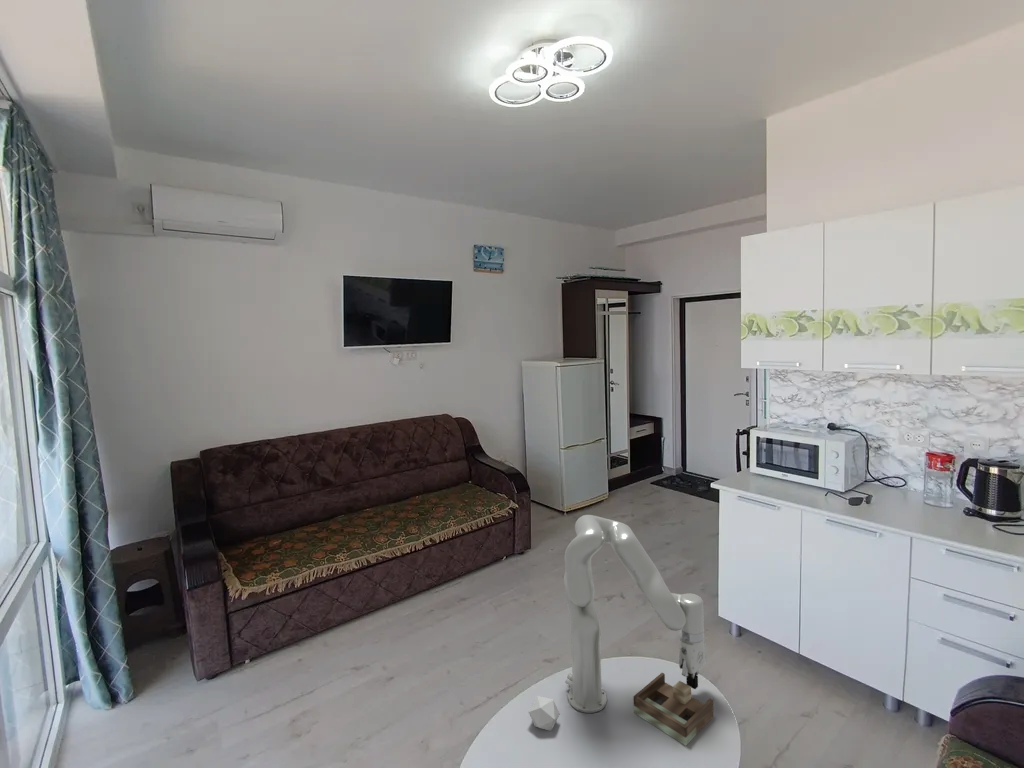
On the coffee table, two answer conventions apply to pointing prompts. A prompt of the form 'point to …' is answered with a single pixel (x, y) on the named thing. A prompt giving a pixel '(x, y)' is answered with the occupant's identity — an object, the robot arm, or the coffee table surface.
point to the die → (544, 713)
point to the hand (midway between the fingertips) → (692, 686)
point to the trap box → (671, 710)
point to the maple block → (682, 692)
